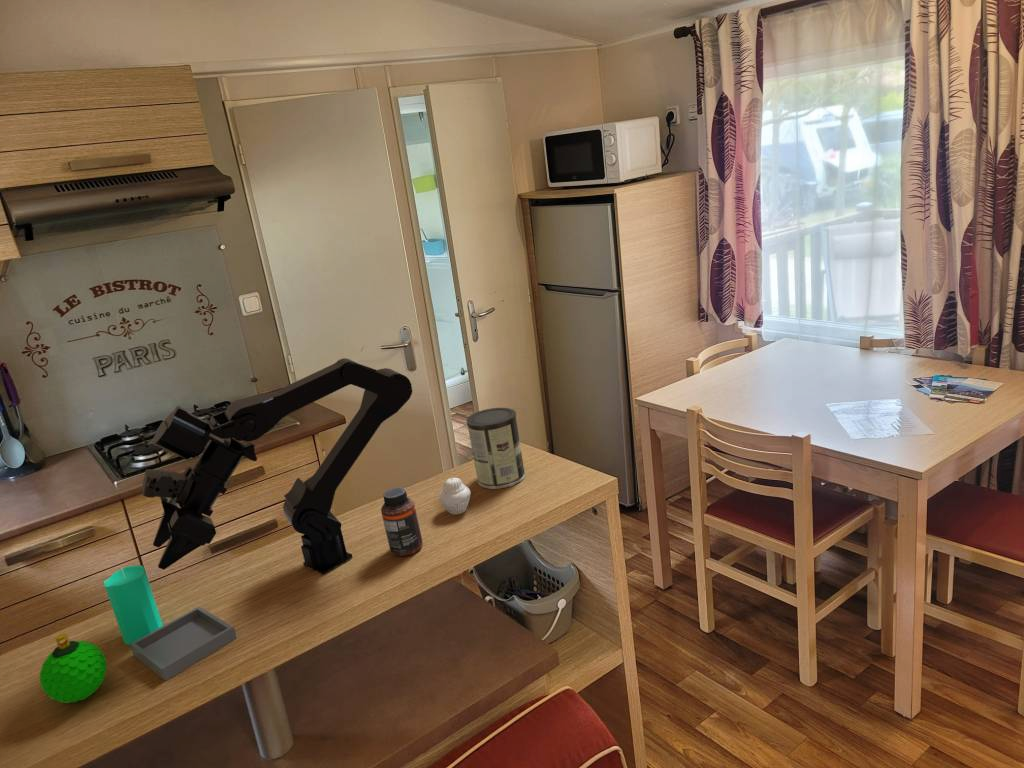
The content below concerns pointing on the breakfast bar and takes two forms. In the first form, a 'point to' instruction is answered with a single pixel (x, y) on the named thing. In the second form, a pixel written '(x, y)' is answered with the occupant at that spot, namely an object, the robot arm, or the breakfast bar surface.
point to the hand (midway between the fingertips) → (158, 556)
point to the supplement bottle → (401, 523)
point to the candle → (133, 603)
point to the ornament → (72, 670)
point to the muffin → (455, 496)
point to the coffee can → (496, 448)
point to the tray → (182, 642)
